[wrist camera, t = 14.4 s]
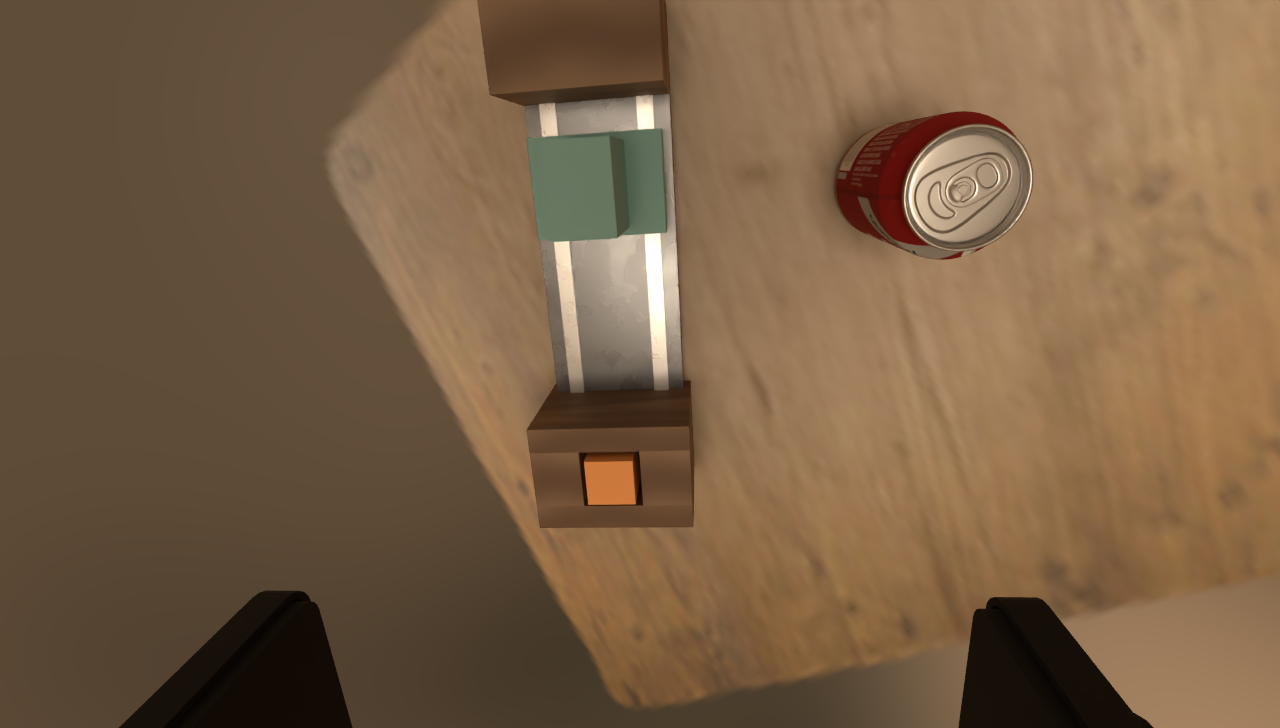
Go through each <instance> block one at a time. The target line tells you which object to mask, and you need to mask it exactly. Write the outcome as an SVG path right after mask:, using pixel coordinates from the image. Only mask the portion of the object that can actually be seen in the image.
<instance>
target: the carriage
mask: <svg viewBox="0 0 1280 728" xmlns="http://www.w3.org/2000/svg"><path fill="white" fill-rule="evenodd" d="M527 146H528V155H529V163H530V172H531V180H532V189H533V197H534V206H535V214H536V223H537V231H538V240H549V242H565V241H582V240H600V239H617V238H618V237H619V236H622V235H640V234H657V233H666V232H667V214H666V195H665V175H664V156H663V137H662V129H661V128H654V129H641V130H628V131H615V132H602V133H589V134H576V135H563V136H550V137H537V138H527Z"/></svg>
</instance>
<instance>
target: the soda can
mask: <svg viewBox="0 0 1280 728" xmlns="http://www.w3.org/2000/svg"><path fill="white" fill-rule="evenodd" d="M835 187H836V198H837V202H838V205H839V208H840V210H841V212H842V214H843V215H844V217H845V218H846V220H847V221H848V222H849V223H850V224H851V225H852V226H854V227H855V228H856V229H858V230H859V231H861V232H863V233H865V234H868V235H870V236H872V237H875V238H877V239H879V240H882V241H884V242H886V243H889V244H891V245H893V246H896V247H898V248H900V249H903V250H905V251H908V252H910V253H912V254H915V255H917V256H920V257H924V258H929V259H953V258H958V257H962V256H966V255H969V254H971V253H974V252H976V251H978V250H980V249H982V248H983V247H985V246H987V245H989V244H991V243H993V242H994V241H996V240H998V239H999V238H1000V237H1002V236H1003V235H1004V234H1006V233H1007V232H1008V231H1009V230H1010V229H1011V228H1012V227H1013V226H1014V225H1015V224H1016V222H1017V221H1018V220H1019V218H1020V217H1021V216H1022V214H1023V212H1024V211H1025V209H1026V206H1027V204H1028V202H1029V199H1030V196H1031V192H1032V187H1033V169H1032V164H1031V160H1030V157H1029V155H1028V153H1027V151H1026V149H1025V148H1024V146H1023V145H1022V143H1021V142H1020V141H1019V140H1018V139H1017V138H1016V136H1015V135H1014V134H1013V133H1012V131H1011V130H1010V129H1009V128H1007V127H1006V126H1005V125H1004V124H1002V123H1001V122H1000V121H998V120H996V119H994V118H992V117H990V116H987V115H984V114H981V113H975V112H965V111H964V112H951V113H946V114H941V115H935V116H930V117H925V118H920V119H915V120H910V121H905V122H900V123H895V124H890V125H886V126H882V127H879V128H876V129H874V130H872V131H870V132H868V133H867V134H865V135H864V136H862V137H861V138H860V139H858V140H857V141H856V142H855V143H854V144H853V145H852V146H851V148H850V149H849V150H848V152H847V153H846V154H845V156H844V158H843V160H842V162H841V164H840V166H839V169H838V173H837V177H836V186H835Z"/></svg>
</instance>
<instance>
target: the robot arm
mask: <svg viewBox="0 0 1280 728" xmlns="http://www.w3.org/2000/svg"><path fill="white" fill-rule="evenodd" d="M119 728H352V724H351V721H350V718H349V714H348V710H347V707H346V703H345V699H344V696H343V692H342V689H341V685H340V682H339V678H338V675H337V671H336V667H335V664H334V660H333V657H332V654H331V649H330V646H329V642H328V639H327V635H326V632H325V628H324V625H323V621H322V618H321V614H320V610H319V608H318V606H317V604H316V603H315V602H311V600H310V598H309V596H308V595H307V594H306V593H305V592H301V591H263V592H260V593H258V594H257V595H256V596H254V597H253V598H252V599H251V600H250V601H249V602H248V603H247V604H246V605H245V606H244V607H243V608H242V609H241V610H239V611H238V612H237V613H236V614H235V615H234V616H233V617H232V618H231V619H230V620H229V621H228V622H227V623H226V624H225V625H224V626H223V627H222V628H221V629H220V630H219V631H218V632H217V633H216V634H215V635H214V636H213V637H212V638H211V639H210V640H209V641H208V642H207V643H206V644H205V645H204V646H202V647H201V648H200V650H199V651H197V652H196V653H195V654H194V655H193V656H192V657H191V658H190V659H189V660H188V661H187V662H186V663H185V664H184V665H183V666H182V667H181V668H180V669H179V670H178V671H177V672H176V673H175V674H174V675H173V676H172V677H171V678H170V679H169V680H168V681H167V682H165V683H164V685H162V686H161V687H160V688H159V689H158V690H157V691H156V692H155V693H154V694H153V695H152V696H151V697H150V698H149V699H148V700H147V701H146V702H145V703H144V704H143V705H142V706H141V707H140V708H139V709H138V710H137V711H136V712H135V713H134V714H133V715H132V716H131V717H130V718H128V719H127V720H126V722H124V723H123V724H122V725H121V726H120V727H119ZM959 728H1153V727H1152V726H1151V725H1150V724H1149V723H1148V722H1147V721H1146V720H1145V719H1143V718H1142V717H1140V716H1138V715H1137V714H1135V713H1133V712H1132V711H1131V709H1130V708H1129V707H1128V706H1127V704H1126V703H1125V702H1124V701H1123V699H1122V698H1121V697H1120V695H1119V694H1118V693H1117V692H1116V691H1115V689H1114V688H1113V687H1112V685H1111V684H1110V683H1109V682H1108V680H1107V679H1106V678H1105V676H1104V675H1103V674H1102V673H1101V672H1100V670H1099V669H1098V668H1097V666H1096V665H1095V664H1094V663H1093V661H1092V660H1091V659H1090V658H1089V656H1088V655H1087V654H1086V652H1085V651H1084V650H1083V649H1082V648H1081V646H1080V645H1079V644H1078V642H1077V641H1076V640H1075V639H1074V637H1073V636H1072V635H1071V634H1070V632H1069V631H1068V630H1067V629H1066V627H1065V626H1064V625H1063V623H1062V622H1061V621H1060V620H1059V618H1058V617H1057V616H1056V615H1055V613H1054V612H1053V611H1052V610H1051V608H1050V607H1049V606H1048V605H1047V604H1046V603H1045V602H1044V601H1043V600H1041V599H1039V598H1024V597H993V598H990V599H989V601H988V602H987V605H986V609H976V611H975V612H974V616H973V622H972V629H971V637H970V644H969V653H968V660H967V667H966V675H965V683H964V690H963V698H962V706H961V713H960V721H959Z"/></svg>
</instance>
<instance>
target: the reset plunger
mask: <svg viewBox="0 0 1280 728" xmlns="http://www.w3.org/2000/svg"><path fill="white" fill-rule="evenodd" d="M584 468H585V477H586V487H587V496H588V505H620V504H636V500H637V495H638V489H639V484H640V479H641V469H640V455H639V451H636V452H588V453H587V455H586V458H585V460H584Z"/></svg>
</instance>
